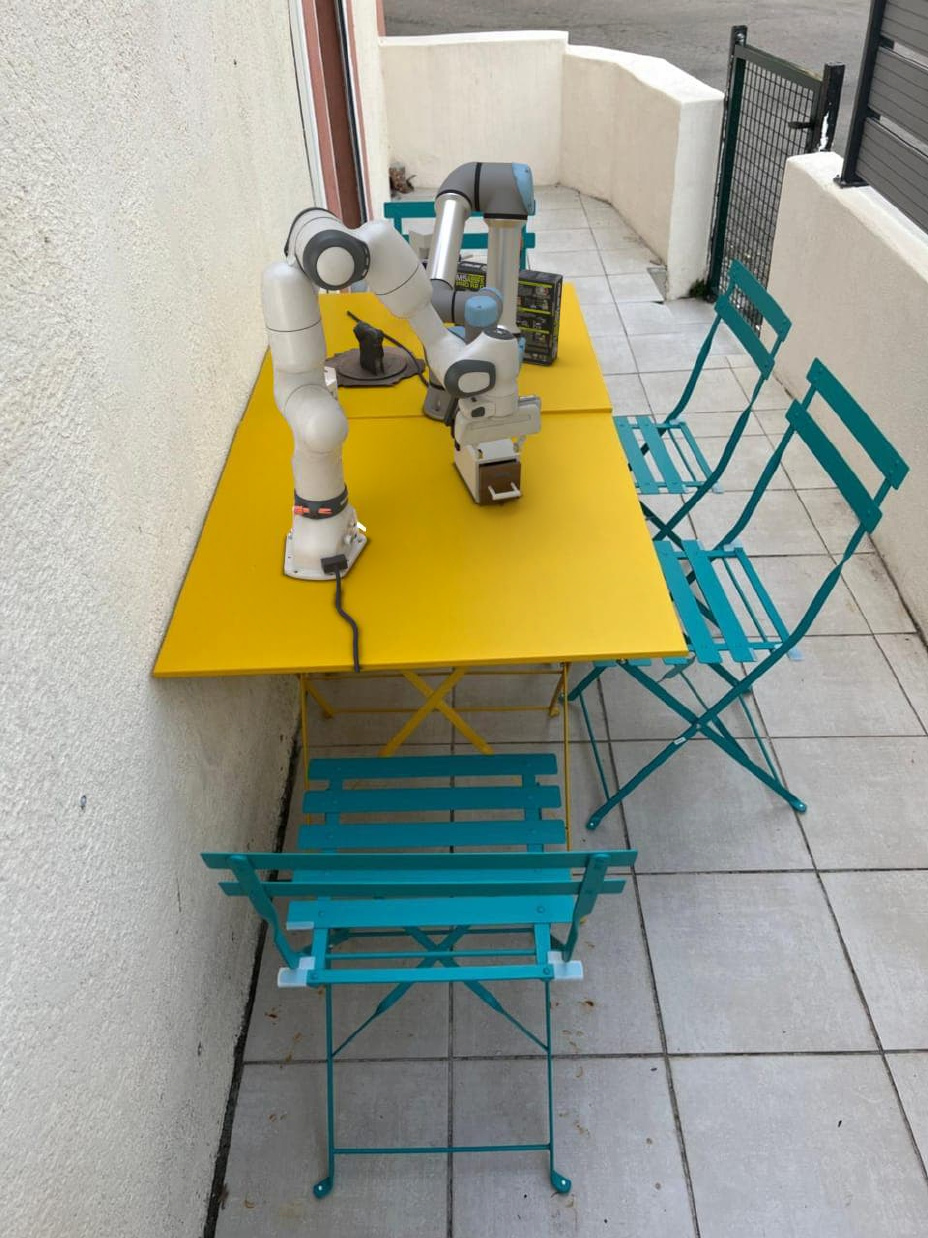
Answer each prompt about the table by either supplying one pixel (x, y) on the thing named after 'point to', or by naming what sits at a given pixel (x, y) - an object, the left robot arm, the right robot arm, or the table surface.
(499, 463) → the drawer
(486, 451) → the cabinet
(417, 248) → the toy
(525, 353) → the box
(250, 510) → the table surface
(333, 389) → the ink box
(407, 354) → the sculpture
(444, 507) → the table surface
